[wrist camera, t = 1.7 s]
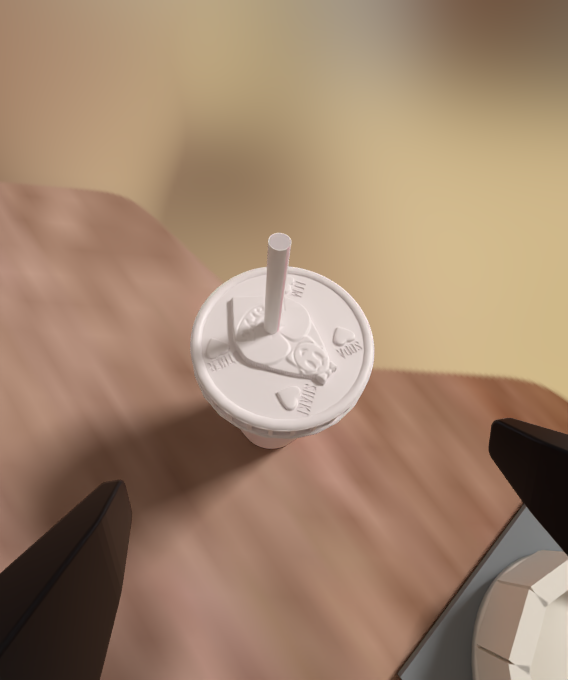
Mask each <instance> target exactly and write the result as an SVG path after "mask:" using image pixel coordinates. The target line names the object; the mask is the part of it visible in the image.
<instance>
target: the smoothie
mask: <svg viewBox="0 0 568 680" xmlns="http://www.w3.org/2000/svg"><path fill="white" fill-rule="evenodd" d="M268 241H269V242H268V258H267V267H262V268H257V269H253V270H250V271H246V272H244V273H241V274H239V275H237V276H235V277H233V278H231V279H229V280H228V281H226V282H225V283H223V284H222V285H221V286H219V287H218V288H217V289H216V290H215V291H214V292H213V293H212V294H211V295H210V296H209V297H208V298H207V299H206V301H205V302H204V304H203V305H202V307H201V308H200V310H199V312H198V314H197V316H196V319H195V322H194V325H193V328H192V333H191V342H190V347H191V358H192V363H193V367H194V375H195V378H196V380H197V382H198V385H199V387H200V389H201V391H202V394H203V396H204V398H205V399H206V400H207V401H208V402H209V404H210V405H211V406H212V407H213V408H214V409H215V411H216V412H217V413H218V414H219V415H220V416H221V417H223V418H224V419H226V420H227V421H229V422H230V423H232V424H233V425H234V426H236V427H237V428H239V429H240V430H241V431H242V432H243V433H244V435H245V436H246V437H247V438H248V439H249V440H250V441H251V442H252V443H254V444H255V445H257V446H259V447H262V448H267V449H276V448H281V447H284V446H286V445H288V444H289V443H291V442H292V441H294V440H295V439H297V438H300V437H304V436H309V435H314V434H317V433H319V432H321V431H323V430H325V429H326V428H328V427H330V426H332V425H334V424H336V423H338V422H339V421H340V420H341V419H342V418H343V417H344V416H345V415H346V414H347V413H348V412H349V411H350V410H351V409H352V408H353V407H354V406H355V404H356V403H357V401H358V399H359V397H360V396H361V394H362V392H363V390H364V388H365V386H366V384H367V382H368V380H369V377H370V375H371V371H372V368H373V362H374V342H373V335H372V332H371V328H370V326H369V323H368V320H367V318H366V316H365V314H364V313H363V311H362V310H361V308H360V306H359V305H358V304H357V302H356V301H355V300H354V299H353V298H352V296H351V295H350V294H348V293H347V292H346V291H345V290H344V289H343V288H342V287H340V286H339V285H338V284H336V283H335V282H333V281H332V280H330V279H328V278H326V277H324V276H322V275H320V274H318V273H315V272H312V271H309V270H305V269H302V268H296V267H289V266H288V263H289V256H290V248H291V239H290V238H289V237H288V236H287V235H286V234H283V233H275V234H273V235H271V236H270V237H269V240H268Z"/></svg>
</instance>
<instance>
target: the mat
mask: <svg viewBox="0 0 568 680" xmlns="http://www.w3.org/2000/svg"><path fill="white" fill-rule="evenodd" d="M541 550H547V551H562V552H564V551H563V550H562V549H561V548H560V547H559V545H558V544H557V543H556V542H555V541H554V539H553V538H552V537H551V536H550V535H549V534H548V532H547V531H546V530H545V529H544V528H543V527H542V525H541V524H540V523H539V522H538V521H537V519H536V518H535V517H534V516H533V515H532V513H531V512H530V511H529V510H528V508H527V507H526V506H525V504H524V505H523V506H522V507H521V509H520V510H519V511H518V513H517V514H516V515H515V517H514V518H513V519H512V521H511V522H510V523H509V525H508V526H507V527H506V529H505V530H504V531H503V533H502V534H501V535H500V537H499V538H498V539H497V541H496V542H495V543H494V545H493V546H492V547H491V549H490V550H489V551H488V553H487V554H486V556H485V557H484V558H483V560H482V561H481V562H480V564H479V565H478V566H477V568H476V569H475V570H474V572H473V573H472V574H471V576H470V577H469V578H468V580H467V581H466V582H465V584H464V585H463V586H462V588H461V589H460V590H459V592H458V593H457V594H456V596H455V597H454V598H453V600H452V601H451V602H450V604H449V605H448V606H447V608H446V609H445V611H444V612H443V613H442V615H441V616H440V617H439V619H438V620H437V621H436V623H435V624H434V625H433V627H432V628H431V629H430V631H429V632H428V633H427V635H426V636H425V637H424V639H423V640H422V641H421V643H420V644H419V645H418V647H417V648H416V649H415V651H414V652H413V653H412V655H411V656H410V657H409V659H408V660H407V661H406V663H405V664H404V666H403V667H402V668H401V670H400V671H399V672H398V676H399V677H400V678H401V680H473V679H472V666H471V651H472V637H473V630H474V624H475V620H476V616H477V612H478V609H479V606H480V604H481V602H482V599H483V597H484V594H485V593H486V591H487V589H488V588H489V586H490V584H491V583H492V582H493V580H494V579H495V578H496V577H497V576H498V574H499V573H500V572H501V571H502V570H504V569H505V568H506V567H507V566H508V565H510V564H511V563H513V562H515V561H516V560H518V559H520V558H522V557H525V556H528V555H530V554H534V553H536V552H537V551H541Z"/></svg>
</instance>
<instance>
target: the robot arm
mask: <svg viewBox="0 0 568 680" xmlns="http://www.w3.org/2000/svg"><path fill="white" fill-rule="evenodd" d="M489 453H490V456H491V458H492V459H493V461H494V462H495V464H496V465H497V466H498V468H499V469H500V471H501V472H502V473H503V475H504V476H505V478H506V479H507V480H508V482H509V483H510V485H511V486H512V488H513V489H514V490H515V492H516V493H517V495H518V496H519V497H520V499H521V500H522V502H523V503H524V504H525V506H526V507H527V508H528V510H529V511H530V512H531V513H532V515H533V516H534V517H535V518H536V519H537V521H538V522H539V523H540V524H541V525H542V527H543V528H544V529H545V530H546V531H547V532H548V534H549V535H550V536H551V537H552V538H553V539H554V541H555V542H556V543H557V544H558V545H559V547H560V548H561V549H562V550H563V551H564V552H565V554H566V555H567V556H568V435H567V434H564V433H561V432H557V431H554V430H550V429H547V428H543V427H540V426H537V425H533V424H530V423H526V422H523V421H519V420H516V419H513V418H505V419H499V420H495V421H494V422H493V423H492V425H491V432H490V440H489ZM131 521H132V511H131V506H130V502H129V498H128V494H127V490H126V486H125V483H124V481H122V480H115V481H108V482H104V483H102V484H101V485H99V486H98V487H97V488H96V489H95V490H94V491H93V492H92V493H90V494H89V495H88V496H87V497H86V498H85V499H84V500H83V501H81V502H80V503H79V504H78V505H77V506H76V507H75V508H73V509H72V510H71V511H70V512H69V513H68V514H67V515H66V516H64V517H63V518H62V519H61V520H60V521H59V522H58V523H57V524H55V525H54V526H53V527H52V528H51V529H50V530H49V531H48V532H46V533H45V534H44V535H43V536H42V537H41V538H40V539H38V540H37V541H36V542H35V543H34V544H33V545H32V546H31V547H29V548H28V549H27V550H26V551H25V552H24V553H23V554H22V555H20V556H19V557H18V558H17V559H16V560H15V561H14V562H12V563H11V564H10V565H9V566H8V567H7V568H6V569H5V570H3V571H2V572H1V573H0V680H100V677H101V673H102V669H103V665H104V661H105V657H106V653H107V649H108V645H109V641H110V637H111V633H112V629H113V625H114V621H115V617H116V613H117V609H118V605H119V600H120V596H121V591H122V585H123V579H124V572H125V564H126V557H127V550H128V543H129V536H130V528H131Z"/></svg>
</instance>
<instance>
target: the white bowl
mask: <svg viewBox="0 0 568 680" xmlns="http://www.w3.org/2000/svg"><path fill="white" fill-rule="evenodd" d="M471 666H472V679H473V680H568V556H567V555H566V554H565V552H562V551H547V550H541V551H537V552H536V553H534V554H530V555H528V556H525V557H522V558H520V559H518V560H516V561H515V562H513V563H511V564H510V565H508V566H507V567H506V568H505V569H504V570H502V571H501V572H500V573H499V574H498V576H497V577H496V578H495V579H494V580H493V582H492V583H491V584H490V586H489V588H488V589H487V591H486V593H485V594H484V597H483V599H482V602H481V604H480V606H479V609H478V612H477V616H476V620H475V624H474V630H473V637H472V651H471Z"/></svg>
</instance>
